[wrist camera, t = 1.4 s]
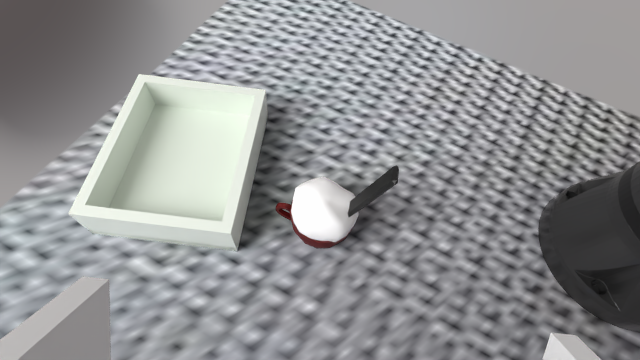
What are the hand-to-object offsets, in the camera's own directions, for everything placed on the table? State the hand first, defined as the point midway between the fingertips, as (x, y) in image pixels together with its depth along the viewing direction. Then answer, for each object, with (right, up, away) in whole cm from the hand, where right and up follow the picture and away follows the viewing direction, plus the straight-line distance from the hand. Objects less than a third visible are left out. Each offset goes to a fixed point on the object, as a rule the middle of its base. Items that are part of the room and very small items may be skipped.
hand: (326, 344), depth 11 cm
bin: (-14, +6, +28) cm, 32 cm away
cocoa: (0, 0, +26) cm, 26 cm away
